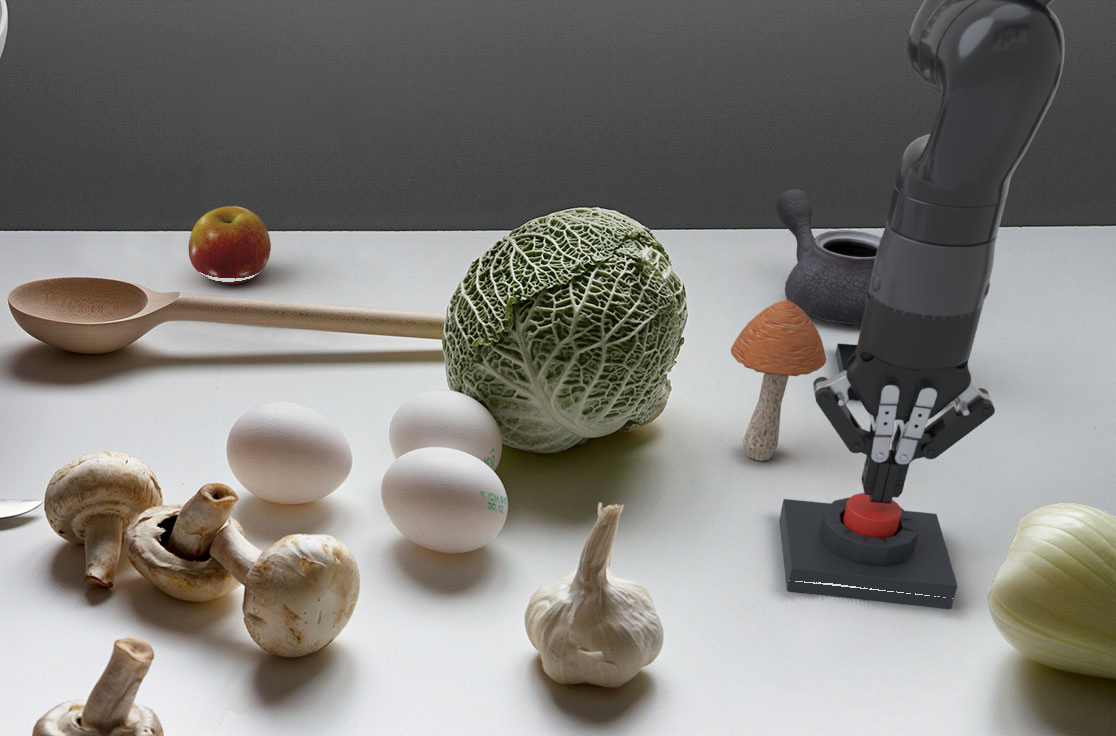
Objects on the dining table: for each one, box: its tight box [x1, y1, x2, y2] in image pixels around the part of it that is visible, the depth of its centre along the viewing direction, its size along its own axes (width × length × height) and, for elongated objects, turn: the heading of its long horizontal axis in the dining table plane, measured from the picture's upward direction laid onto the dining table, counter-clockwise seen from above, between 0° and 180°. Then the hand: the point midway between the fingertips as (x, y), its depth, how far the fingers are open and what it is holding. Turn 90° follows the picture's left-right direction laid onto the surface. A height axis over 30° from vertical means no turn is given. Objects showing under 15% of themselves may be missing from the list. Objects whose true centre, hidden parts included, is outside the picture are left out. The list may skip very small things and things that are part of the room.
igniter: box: [843, 492, 902, 538], centre depth 100 cm, size 4×4×2 cm
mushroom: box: [730, 298, 827, 462], centre depth 113 cm, size 8×8×15 cm
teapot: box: [775, 188, 882, 325], centre depth 143 cm, size 19×15×10 cm
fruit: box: [188, 205, 272, 285], centre depth 150 cm, size 10×9×8 cm
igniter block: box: [778, 496, 958, 610], centre depth 102 cm, size 12×10×4 cm
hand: (878, 497), depth 100 cm, fingers closed
